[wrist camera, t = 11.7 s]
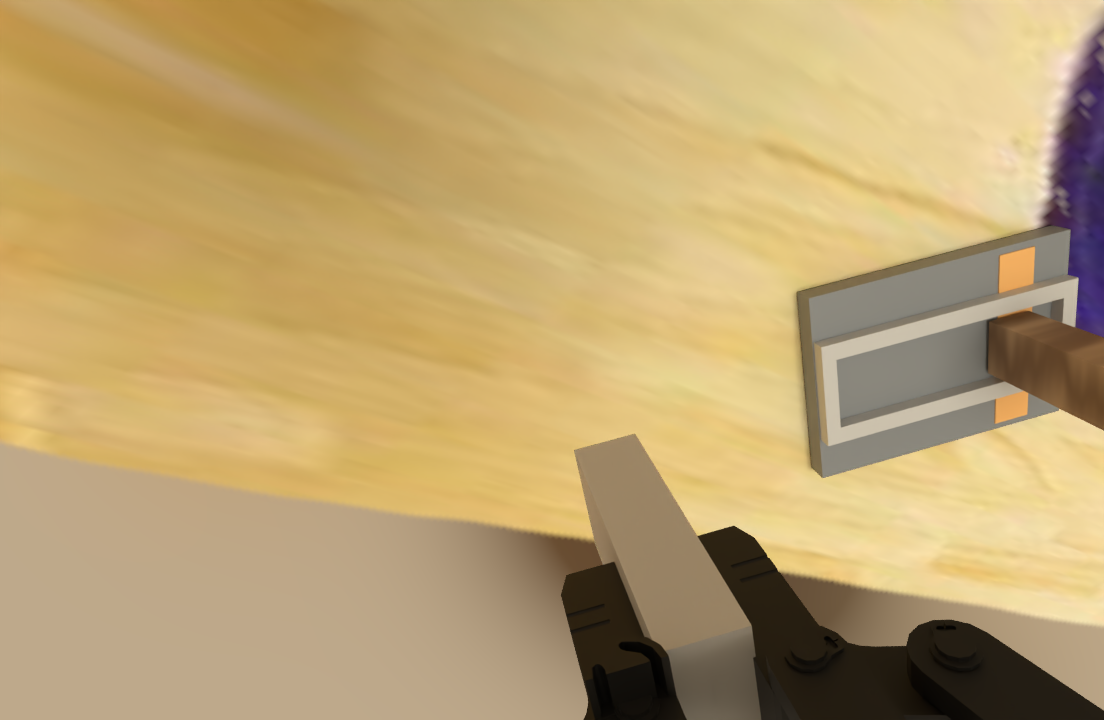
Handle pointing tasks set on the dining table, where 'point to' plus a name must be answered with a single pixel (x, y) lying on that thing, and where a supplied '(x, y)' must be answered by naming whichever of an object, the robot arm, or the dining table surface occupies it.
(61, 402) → the dining table surface
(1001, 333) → the fader lever
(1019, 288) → the console
